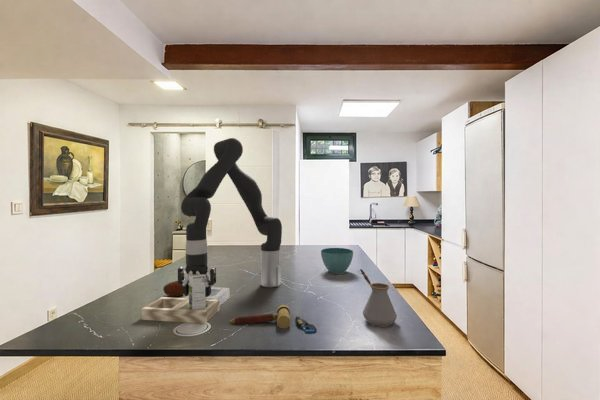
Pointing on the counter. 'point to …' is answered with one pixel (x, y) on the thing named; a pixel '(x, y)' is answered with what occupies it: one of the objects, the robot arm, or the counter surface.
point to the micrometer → (305, 325)
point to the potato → (173, 289)
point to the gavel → (267, 318)
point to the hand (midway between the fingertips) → (197, 295)
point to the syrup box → (197, 292)
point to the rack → (178, 310)
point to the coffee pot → (379, 305)
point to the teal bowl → (337, 259)
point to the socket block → (218, 294)
